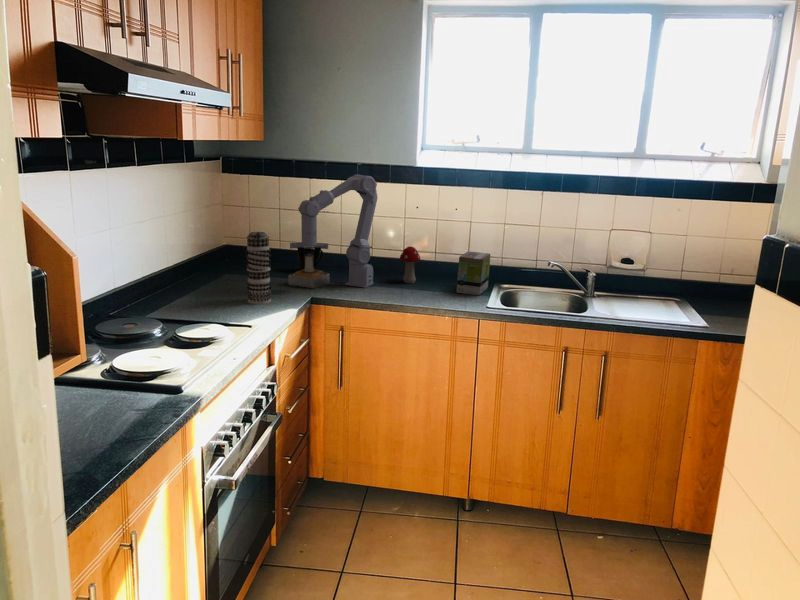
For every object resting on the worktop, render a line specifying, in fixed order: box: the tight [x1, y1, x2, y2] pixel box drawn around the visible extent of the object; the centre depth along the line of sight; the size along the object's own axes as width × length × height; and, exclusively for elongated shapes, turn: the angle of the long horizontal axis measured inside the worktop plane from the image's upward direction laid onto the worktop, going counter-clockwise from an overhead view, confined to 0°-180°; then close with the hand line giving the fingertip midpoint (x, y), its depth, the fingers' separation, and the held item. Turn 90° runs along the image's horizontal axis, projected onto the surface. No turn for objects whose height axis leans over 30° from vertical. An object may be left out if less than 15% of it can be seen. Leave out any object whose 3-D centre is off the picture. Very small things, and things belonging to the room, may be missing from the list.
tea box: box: [456, 250, 491, 296], centre depth 265 cm, size 15×10×15 cm
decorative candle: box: [244, 231, 272, 305], centre depth 237 cm, size 9×9×25 cm
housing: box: [287, 269, 331, 289], centre depth 267 cm, size 12×12×5 cm
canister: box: [305, 254, 315, 272], centre depth 255 cm, size 4×4×7 cm
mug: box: [297, 248, 324, 271], centre depth 292 cm, size 8×12×10 cm
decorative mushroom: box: [399, 245, 421, 284], centre depth 276 cm, size 10×9×15 cm
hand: (309, 266), depth 256 cm, fingers closed on canister, 4 cm apart
